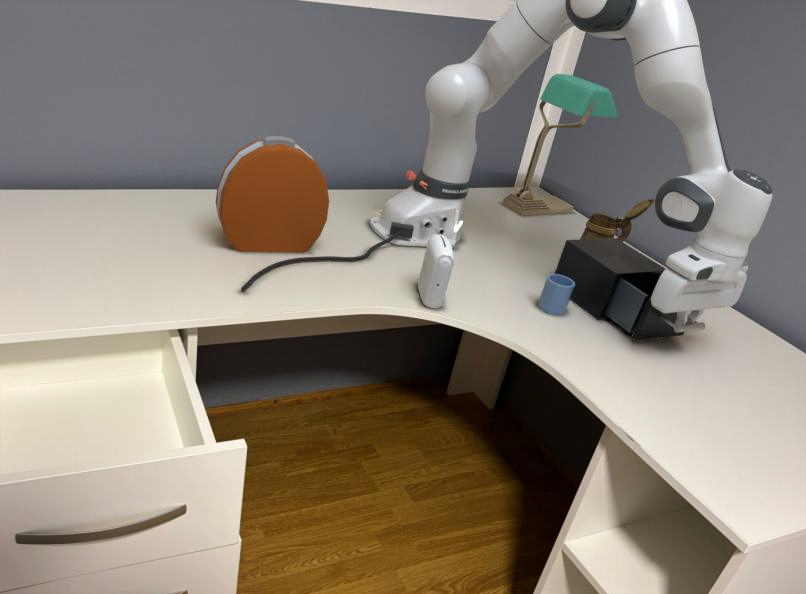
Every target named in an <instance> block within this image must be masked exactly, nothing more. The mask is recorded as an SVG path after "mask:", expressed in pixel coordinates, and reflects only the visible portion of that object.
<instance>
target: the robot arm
mask: <svg viewBox="0 0 806 594" xmlns="http://www.w3.org/2000/svg"><path fill="white" fill-rule="evenodd" d="M573 27H576V28H577V29H578V30H580V31H581V32H585V33H587V34H588V35H591V36H593V37H596V38H600V39H608V40H611V41H618V42H619V41H627V42H628V45H629V48H630V52H631V57H632V64H633V71H634V79H635V83H636V87H637V90H638V92H639V94H640V97H641V99H642V101H643V103H644V104H646V106H647V107H649V108H651V109H652V110H654V111H656V112H658V113H660V114H661V115H663V116H664V117H666V118H667V119H669V120H670V121H671V122H672V123H673V124H675V126H676V127H677V128H678V130H679V132H680V134H681V137H682V141H683V145H684V149H685V153H686V157H687V161H688V166H689V171H690V174H686V175H680V176H679V175H678V176H676V177H673V178H670V179H668V180H666V181H665V182H664V183H662V185H661V186H660V187H659V189H658V190H657V192H656V195H655V198H654V209H655V213H656V216H657V218H658V219H659V221H660V222H661V223H662V224H663V225H665V226H667V227H669V228H673V229H677V230H680V231H685V232H690V233H695V235H696V236H695V238H694V241H693V243H692V244H690V245H687V246H686V247H685V248H683V249H681V250H679V251H676V252H673V253H671V254H670V255H668V257H667V259H666V261H665V265H666V267H667V268H665V269H666V270H664V272H663V273H662V274H661V276H660V278H659V280H658V282H657V284H656V286H655V289H654V291H653V294H652V296H651V304H652V306H653V307H655V308H656V309H657V310H659V311H661V312H662V313H673V312H677V319H676V322H675V324H676V325H683V324H692V323H694V322H695V321H698V319H699V318H700V317H701V316H702V315H703V314H704V313H705V311H706V310H711V309H719V308H731V307H733V306H734V305H735V304H736V303H737V302H738V301H739V299H740V298H741V295H742V293H743V290H744V287H745V284H746V282H747V278H748V275H747V272H748V270H749V266H748V262H747V261H746V260H745V259H746V257H747V256H748V253H749V247H750V244H751V242H752V241H753V240H754V238H755V237H756V236H757V235H758V234H759V231H760V230H761V228H762V225H763V223H764V221H765V219H766V216H767V214H768V211H769V209H770V206H771V203H772V199H773V194H774V193H773V188H772V186H771V185H770V183H769V182H768V181H767V179H764V178H763V177H761V176H760V175H759V174H756V173H754V172H752V171H748V170H746V169H739V168H736V169H732V168H731V166H730V164H729V161H728V158H727V155H726V150H725V146H724V142H723V136H722V133H721V129H720V126H719V120H718V117H717V112H716V109H715V105H714V102H713V99H712V96H711V92H710V89H709V87H708V82H707V78H706V73H705V67H704V62H703V56H702V49H701V44H700V43H701V42H700V37H699V33H698V29H697V25H696V22H695V17H694V15H693V12H692V9H691V6H690V4H689V2H688V0H516V1H515V2H514V3H513V4H512V6H510V7H509V8H508V10H507V11H505V12H504V13H503V15H502V16H500V18H499V19H498V20H497V21H495V23H494V24H493V25H492V26H491V27H490V28H489V29H488V30H487V32H486V35H485V37H484V39H483V40H482V42H481V44H480V45H479V46H478V48H477V49H476V51H475V52H474V53H473V54H472V55H471V57H469V58H468V59H466V60H464V61H463V62H461V63H454V64H448V65H446V66H444V67H442V68H441V69H439V70H438V71H436V72H435V73H434V74H433V75H432V76H431V77H430V78H429V80H428V81H427V83H426V86H425V90H424V99H425V104H426V105H427V106H426V107H428V109H429V132H428V133H429V135H428V141H427V147H426V151H425V156H424V160H423V164H422V165H423V166H422V168H421V169H420V170H419V172H418V174H417V173H416V172H414V171H413V170H408V171H407V172H406V173H405V177H406V179H408V180H409V181H410V182H412V184H411V186H409V187H407V188H406V189H404V190H402V191H401V192H399V193H398V194H396V195H394V196H393V197H391V198H389V199H388V200H387V201H386V202H385V203H384V205H383V208H382V210H381V213H380V216H372V217H370V220H369V226H370V228H371V230H373V231H374V233H376V234H377V236H379V237H380V238H382V241H380V242H378V243H376V244H374V245H373V246H371V247H370V248H369V249H368V250H367V251H366V252H365V253H364V254H362V255H358V256H334V255H333V256H332V255H329V256H328V255H327V256H325V255H323V256H303V257H293V258H288V259H284V260H280V261H277V262H275V263H272V264H270V265H268V266H266V267H264V268H262V269H261V270H259V271H258V272H256V273H254V275H252V276H251V278H249V280H247V281H246V283H244V285H242V287H241V288H240V290H241V292H245V291H246V290H247V289H249V287H250V286H251V285H252V284H253V283H254V282H255V281H256V280H258V279H259V277H261V276H262V275H264V274H266V273H268V272H269V271H271V270H273V269H275V268H278V267H280V266H281V267H282V266H284V265H289V264H293V263H300V262H319V261H338V262H339V261H340V262H355V261H361V260H364V259H366V258H368V257H369V256H370V255H371V254H372V253H373V251H375V250H376V249H378V248H380V247H382V246H384V245H386V244H389V243H390V244H393V245H395V246H406V247H407V246H408V247H423V248H424V247H426V248H427V243H428V241H429V239H430V237H432V236H433V235H435V234H438V235H443V236H445V237H446V238H447V239H448V241H449V242H450V244H451V247H452V249H454V248H456V243H458V242H460V240H461V238H462V228H461V227H462V225H463V222H464V221H463V220H462V217H463V210H464V203H465V200H466V198H467V196H468V193H469V189H470V185H471V180H470V177H471V174H472V170H473V166H474V164H475V163H474V162H475V160H476V159H475V158H476V154H477V150H478V144H477V141H476V128H477V127H476V125H477V119H478V116H479V114H481V113H485V112H487V111H488V110H490V109H491V108H492V107H494V106H495V105H496V104H497V103H498V102H499V101H500V100H501V98H502V97H503V96H504V95H505V94H506V93H507V92H508V90H509V89H510V88H511V87H512V86H513V85H514V84H515V82H516V81H517V80H518V79H519V77H520V76H521V75H522V74H523V73H524V72H525V71H526V70H527V69H528V68H529V67H530V66H531V65H532V64H533V63H534V62H535V61H536V60H537V59H539V57H541V56H542V55H543V53H544V52H546V51H547V50H548V49H549V48H550V47H551V46H552V45H553V44H554V43H555V42H556V41H558V40H559V39H560V38H561V37H562V36H563V35H564V34H565V32H567V31H569V30H570V29H572V28H573Z"/></svg>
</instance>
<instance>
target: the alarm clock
mask: <svg viewBox="0 0 806 594" xmlns="http://www.w3.org/2000/svg"><path fill="white" fill-rule="evenodd" d="M219 178H220V179H219V181H218V184H217V188H216V195H215V206H216V213H217V217H218V221H219V223H220V225H221V228H222V231H223V234H224V235H225V237H226V239H227V241H228V243H229V245H230V246H232V247H233V248H234V249H235V250H236V251H237V252H241V253H242V252H243V253H245V252H249V253H294V254H295V253H296V254H297V253H299V254H300V253H301V254H302V253H305V252H307V251H308V250H309V249H311V248H312V247H313V246H314V245H315V243H316V242H317V241H318V239H320V237H321V235H322V232H323V230H324V228H325V225H326V224H327V221H328V216H329V206H330V197H329V189H328V182H327V180H326V177H325V176H324V174H323V172H322V170H321V168H320V166H319V164H318V163H317V162H316V161H315V160H314V158H313V156H312V155H311V154H310V153H309V152H307V151H306V150H305V149H304V148H302V147H301V146H300V145H299V144H298V143H297V142H296V141H295V140H294V139H293V138H290V137H287V136H280V135H270V136H265V137H264V138H262V139H256V140H254V141H252V142H250V143H249V144H246V145H244V146H243V147H241V148H239V149H238V150H237V151H236V152H235V154H234V155H233V156H232V157H231V158H230V160H229V161H228V162H227V163H226V165H225V166H224V168H223V171H222V173H221V177H219Z"/></svg>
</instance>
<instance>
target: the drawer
mask: <svg viewBox="0 0 806 594" xmlns="http://www.w3.org/2000/svg"><path fill="white" fill-rule="evenodd" d="M660 276H661V275H660V274H656V275H641V276H625V277H618V278H617V281H616V283H615V285H614V288H613V290H612V293H611V295H610V298H609V300H608V303H607V305H606V307H605V310H604V312H603V313H604V314H605V315H606V316H608V317H609V319H611V320H612V321H613V322H615V324H617V325H618V326H620V327H621V328H622V329H624V330H625V331H626V332H628V333H630V334H631V333H632V335H631V337H630V338H631V340H633V341H634V342H640V341H649V340H656V339H666V338H674V337H681V336H684V335H685V333H686V332H695V331H702V330H705V329H706V323H704V322H699V321H698V320H696V321H695V322H694V323H692V324H683V325H676V324H675V322H676V319H677V312H673V313H662V312H661V311H659V310H657V309H656V308H655V307H653V306H652V304H651V296H652V294H653V291H654V289H655V286H656V284H657V282H658V280H659V278H660Z"/></svg>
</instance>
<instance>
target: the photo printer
mask: <svg viewBox="0 0 806 594" xmlns="http://www.w3.org/2000/svg"><path fill="white" fill-rule="evenodd" d="M454 263H455V255H454V250H453V248H452V247H451V244H450V242H449V241H448V239H447V238H446V237H445V236H443V235H438V234H435V235H433V236H432V237H430V239H429V241H428V243H427V247H426V248H425V252H424V257H423V260H422V264H421V268H420V272H419V277H418V280H417V288H418V292H419V295H420V299H421V302H422V304H423V306H425V307H427V308H430V309H439V308H442V306H443V304H444V301H445V297H446V294H447V291H448V288H449V283H450V279H451V276H452V272H453V268H454Z"/></svg>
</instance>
